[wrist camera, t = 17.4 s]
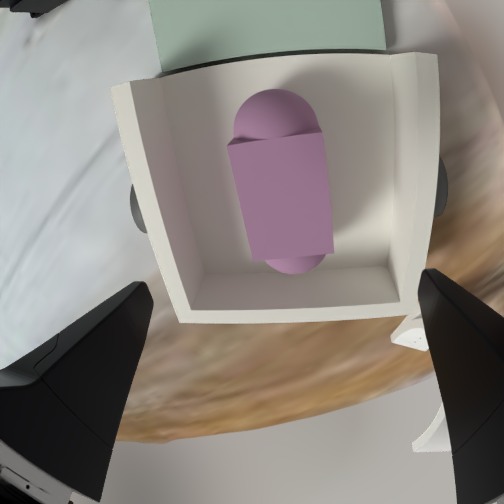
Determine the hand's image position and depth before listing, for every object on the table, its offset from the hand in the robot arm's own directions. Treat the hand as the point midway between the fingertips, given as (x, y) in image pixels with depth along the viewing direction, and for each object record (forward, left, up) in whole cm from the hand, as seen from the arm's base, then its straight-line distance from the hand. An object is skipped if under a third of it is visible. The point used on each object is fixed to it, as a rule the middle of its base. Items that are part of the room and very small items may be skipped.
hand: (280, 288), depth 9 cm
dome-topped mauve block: (0, 0, -11) cm, 11 cm away
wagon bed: (0, 0, -12) cm, 12 cm away
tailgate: (-8, 0, -11) cm, 13 cm away
